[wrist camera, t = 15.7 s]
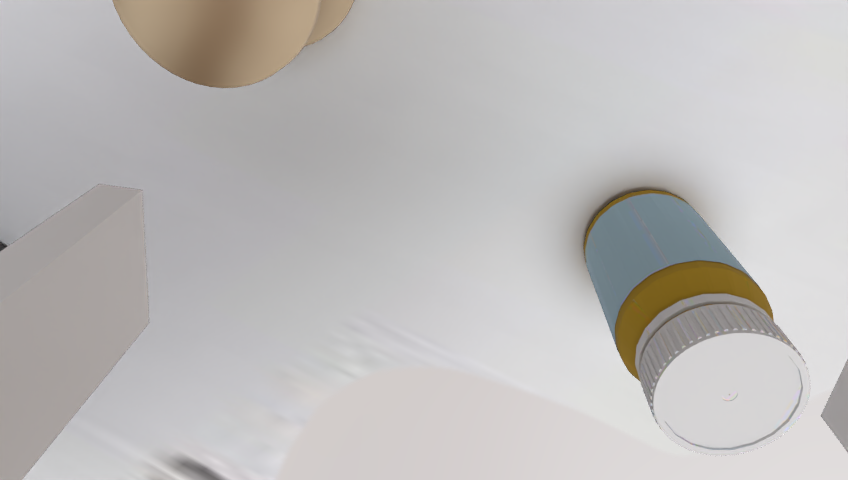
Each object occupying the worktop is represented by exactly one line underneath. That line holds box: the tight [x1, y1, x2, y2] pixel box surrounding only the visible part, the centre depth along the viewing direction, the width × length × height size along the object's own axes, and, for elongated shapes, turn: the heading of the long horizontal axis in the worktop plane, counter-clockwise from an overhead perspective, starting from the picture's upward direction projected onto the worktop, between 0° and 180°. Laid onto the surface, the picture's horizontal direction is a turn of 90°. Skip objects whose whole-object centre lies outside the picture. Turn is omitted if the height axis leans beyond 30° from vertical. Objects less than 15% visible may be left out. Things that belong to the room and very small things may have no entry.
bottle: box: [584, 190, 810, 456], centre depth 33 cm, size 7×7×15 cm
